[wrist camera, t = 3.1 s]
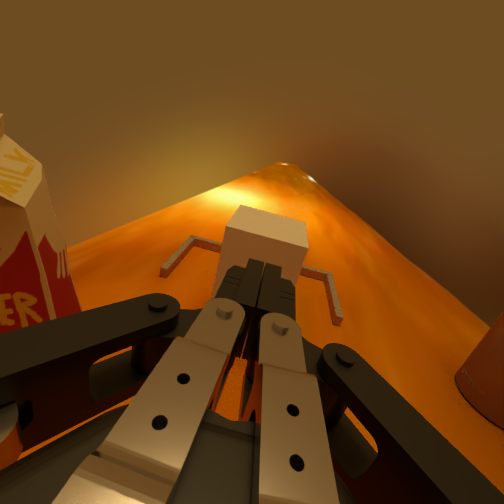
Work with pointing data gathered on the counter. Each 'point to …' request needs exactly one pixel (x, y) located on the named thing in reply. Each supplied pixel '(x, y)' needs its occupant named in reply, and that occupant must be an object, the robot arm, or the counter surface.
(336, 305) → the metal staple
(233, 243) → the carton
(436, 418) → the counter surface
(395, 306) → the counter surface
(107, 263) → the counter surface
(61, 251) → the milk carton
